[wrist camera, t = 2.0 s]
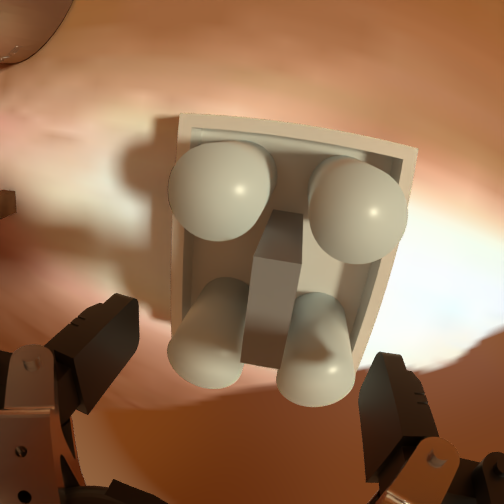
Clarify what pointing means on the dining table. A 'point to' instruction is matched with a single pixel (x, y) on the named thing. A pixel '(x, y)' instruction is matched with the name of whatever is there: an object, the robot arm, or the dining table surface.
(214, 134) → the tray
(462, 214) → the dining table surface
